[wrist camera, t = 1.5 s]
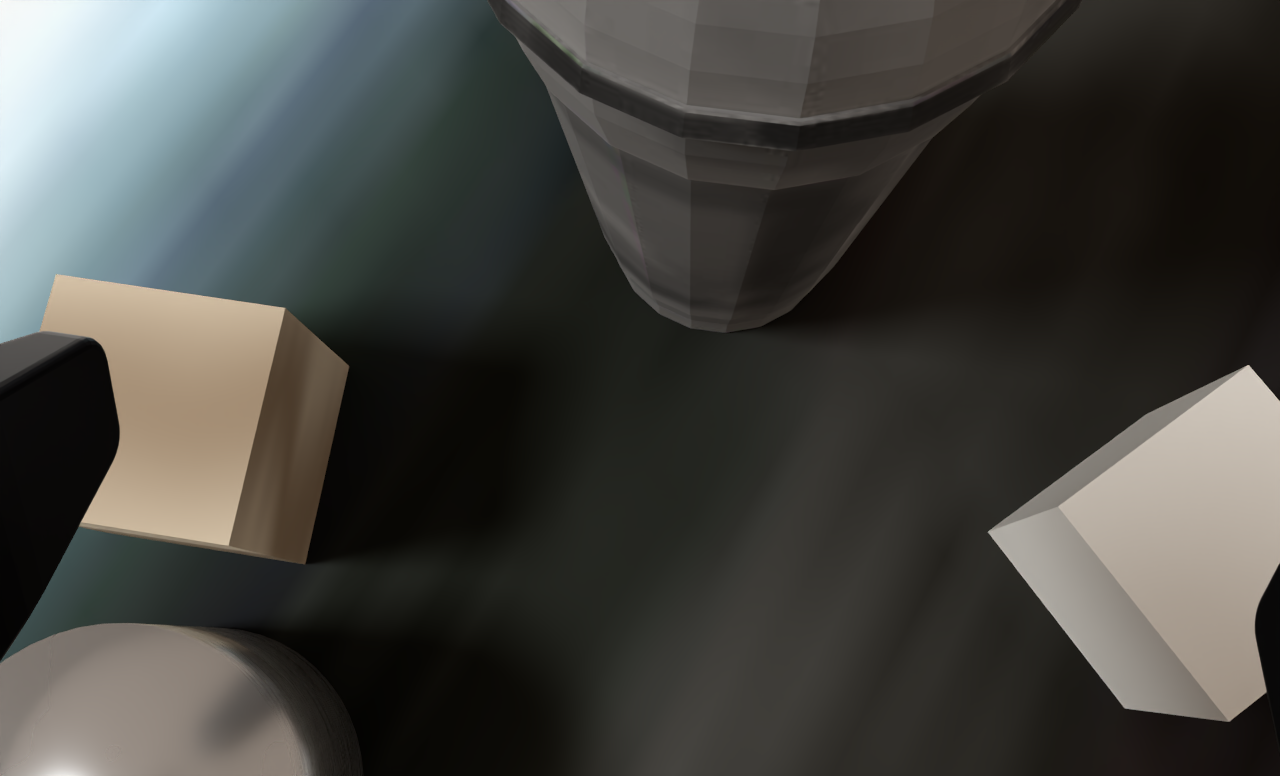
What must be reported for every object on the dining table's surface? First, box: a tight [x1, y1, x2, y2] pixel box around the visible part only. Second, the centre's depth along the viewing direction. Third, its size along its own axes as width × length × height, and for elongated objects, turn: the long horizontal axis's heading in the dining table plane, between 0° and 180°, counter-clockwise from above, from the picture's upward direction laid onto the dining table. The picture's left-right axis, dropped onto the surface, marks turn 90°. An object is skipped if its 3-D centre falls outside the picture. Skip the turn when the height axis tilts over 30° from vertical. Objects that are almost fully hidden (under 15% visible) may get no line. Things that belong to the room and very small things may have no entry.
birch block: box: [40, 274, 349, 564], centre depth 20 cm, size 4×4×4 cm
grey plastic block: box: [988, 365, 1280, 722], centre depth 20 cm, size 4×4×4 cm
